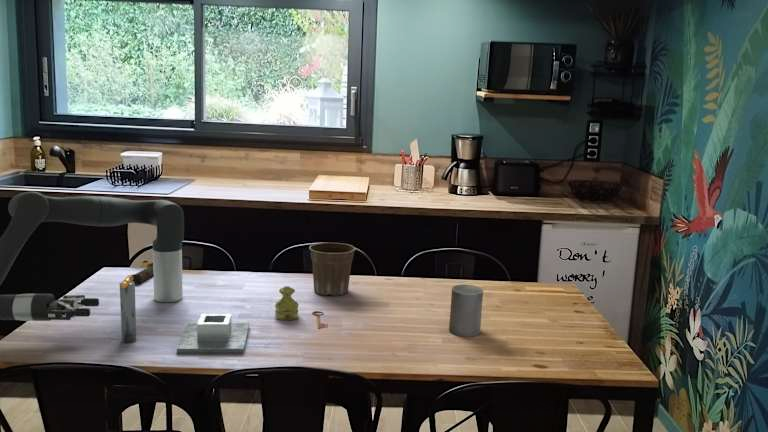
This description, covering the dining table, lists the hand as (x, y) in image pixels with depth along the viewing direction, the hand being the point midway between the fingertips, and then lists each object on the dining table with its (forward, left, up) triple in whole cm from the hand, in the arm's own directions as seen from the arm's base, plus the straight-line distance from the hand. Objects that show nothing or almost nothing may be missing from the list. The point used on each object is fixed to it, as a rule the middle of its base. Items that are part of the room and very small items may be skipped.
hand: (94, 307), depth 206 cm
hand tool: (-63, +1, -10) cm, 64 cm away
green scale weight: (-20, +53, -10) cm, 58 cm away
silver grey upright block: (0, +9, -10) cm, 14 cm away
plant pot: (-47, +68, -10) cm, 83 cm away
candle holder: (0, +33, -10) cm, 35 cm away
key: (-17, +64, -11) cm, 67 cm away
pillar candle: (-7, +108, -10) cm, 109 cm away
